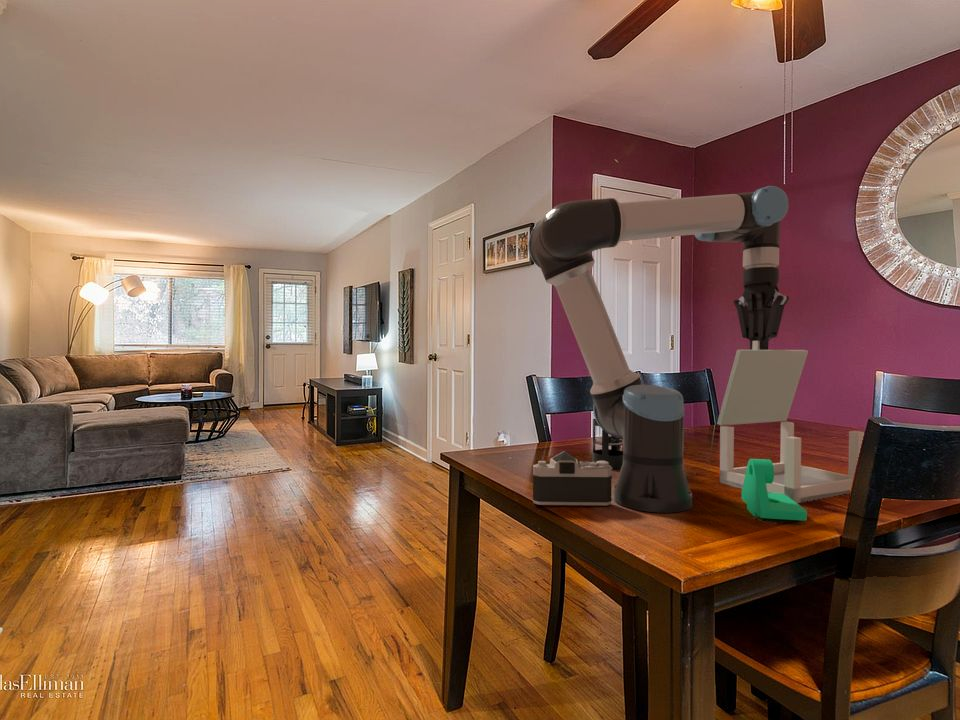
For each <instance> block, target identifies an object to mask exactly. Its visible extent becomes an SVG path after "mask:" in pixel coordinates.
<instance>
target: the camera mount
mask: <svg viewBox="0 0 960 720" xmlns="http://www.w3.org/2000/svg"><path fill="white" fill-rule="evenodd" d="M773 463H774V462H772V460H771V459H765V458H764V459H763V458H761V459H760V458H749V459H748V462H747V466H746V467H747V470H746V474H745V479H744V483H743V488H742V489H741V500H742V501H743V502H744V503H745V504H746V509H747V511H748V512H749V513H750V514H751V515H752V516H753V517H757V518H760V519H774V520H789V521H807V519H808V510H807V509H806V508H804V507H803V506H801V505H800V503H796V502H795V501H793V500H792V499H790V498H789V497H788V496H786V495H785V494H780V493H767V487H766V483H770V484H771V483H772V482H773V480H774V467H773Z"/></svg>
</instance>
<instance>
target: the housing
mask: <svg viewBox="0 0 960 720" xmlns="http://www.w3.org/2000/svg"><path fill="white" fill-rule="evenodd" d="M719 426H720V427H719V430H720V433H719V483H720V484H724V485H727V486H730V487H734V488H737V489H741V490H742V488H743V483H744V479H745V474H746V470H747V466H739V467H734V466H735V465H734V460H735V459H734V457H735V455H734V454H735V453H734V452H735V451H734V450H735V449H734V447H735V446H734V445H735V443H734V442H735V427H734V426H731V425H719ZM864 432H865V431H859V430H849V431H848V467H847V469H848V472H847V473H848V474H844V473H839V472H834V471H831V470H830V471H829V470H825V469H820V468H816V467H812V466H807V465H803V464H802V437H797V436H795V422H792V421H780V449H779V450H780V453H779V454H780V455H779V456H780V458H779V459H780V461H779V462H772V463H773V467H774V480H773V482H772V483H771V484H770V483H766V487H767V493H780V494H785V495H786V496H788V497H789V498H790V499H792V500H793V501H795V502H796V503H797V504H803V503H807V501H808V502H813V500H815V501H818V499H820V500H823V499H822V498H826V499H829V498H828V497H831V498H834V497H833V496H836V497H839V496H838V495H842V496H844V495H843V494H847V495H850V494H849V493H850V489H851V486H852V482H853V477H854V473H855V469H856V465H857V461H858V457H859V453H860V448H861V444H862V440H863V436H864Z"/></svg>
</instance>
